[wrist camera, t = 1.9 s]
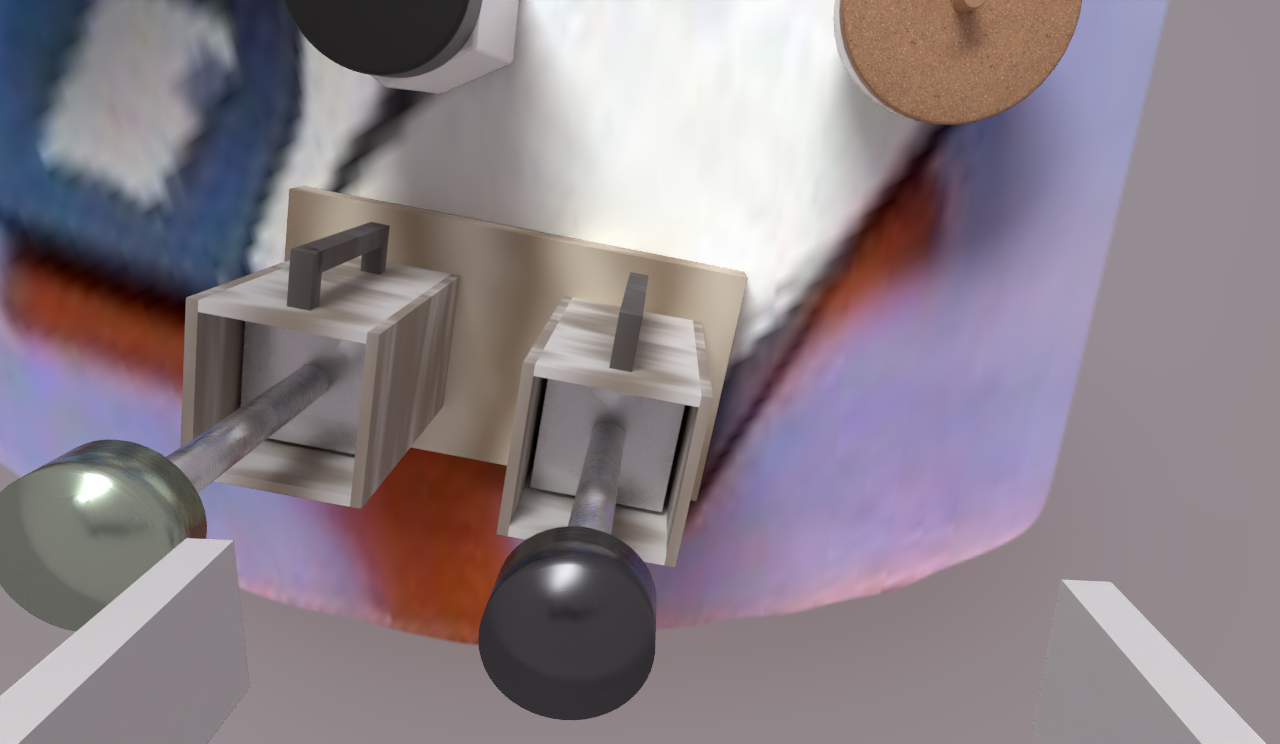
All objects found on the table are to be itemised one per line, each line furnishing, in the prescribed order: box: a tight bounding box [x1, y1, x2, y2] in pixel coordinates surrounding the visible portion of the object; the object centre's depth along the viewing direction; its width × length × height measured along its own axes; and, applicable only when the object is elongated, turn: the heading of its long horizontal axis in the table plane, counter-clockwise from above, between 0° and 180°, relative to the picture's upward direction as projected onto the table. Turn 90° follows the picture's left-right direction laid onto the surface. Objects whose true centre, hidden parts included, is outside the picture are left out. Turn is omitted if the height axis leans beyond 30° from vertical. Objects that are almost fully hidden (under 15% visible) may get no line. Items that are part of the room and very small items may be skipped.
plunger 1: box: [0, 321, 366, 631], centre depth 32 cm, size 6×6×17 cm
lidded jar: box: [833, 0, 1082, 125], centre depth 41 cm, size 11×11×9 cm
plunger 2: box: [479, 379, 685, 720], centre depth 32 cm, size 6×6×17 cm
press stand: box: [181, 186, 747, 567], centre depth 44 cm, size 26×14×16 cm, turn 79°
